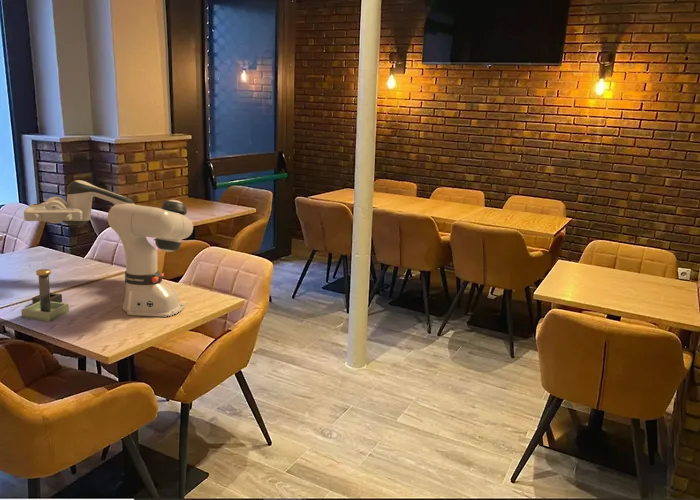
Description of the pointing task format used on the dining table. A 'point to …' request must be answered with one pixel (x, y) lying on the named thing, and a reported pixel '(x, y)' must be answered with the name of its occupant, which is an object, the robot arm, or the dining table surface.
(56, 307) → the tray
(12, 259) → the dining table surface
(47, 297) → the lock pin
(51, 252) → the dining table surface
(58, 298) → the pin collar
